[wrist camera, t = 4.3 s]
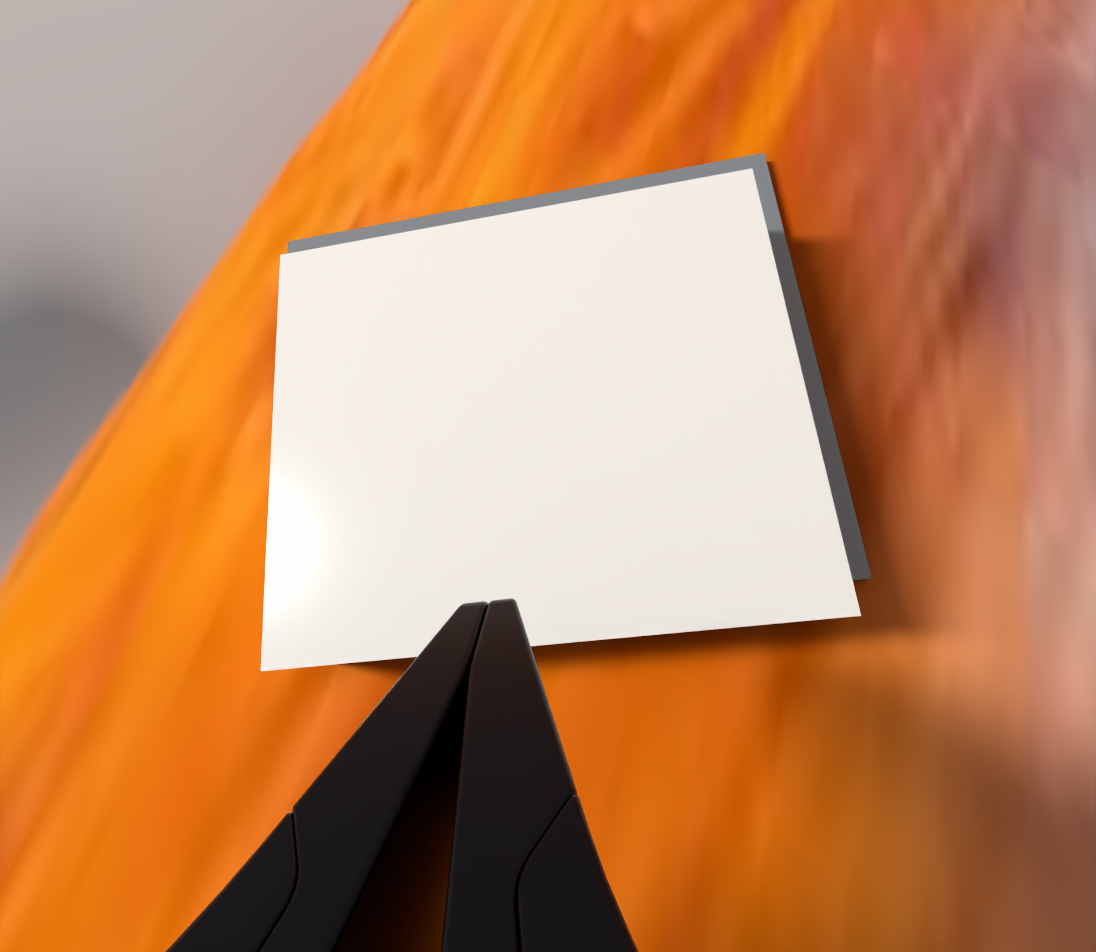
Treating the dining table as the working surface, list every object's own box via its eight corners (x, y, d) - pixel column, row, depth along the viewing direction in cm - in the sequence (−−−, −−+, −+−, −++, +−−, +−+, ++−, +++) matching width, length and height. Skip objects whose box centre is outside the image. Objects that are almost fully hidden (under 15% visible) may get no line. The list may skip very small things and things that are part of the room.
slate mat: (867, 578, 14) (871, 578, 14) (277, 637, 16) (270, 637, 16) (762, 160, 18) (764, 152, 17) (292, 246, 20) (287, 241, 19)
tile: (861, 615, 11) (752, 168, 14) (260, 671, 13) (280, 255, 16) (819, 615, 14) (733, 231, 17) (317, 661, 15) (325, 301, 18)
